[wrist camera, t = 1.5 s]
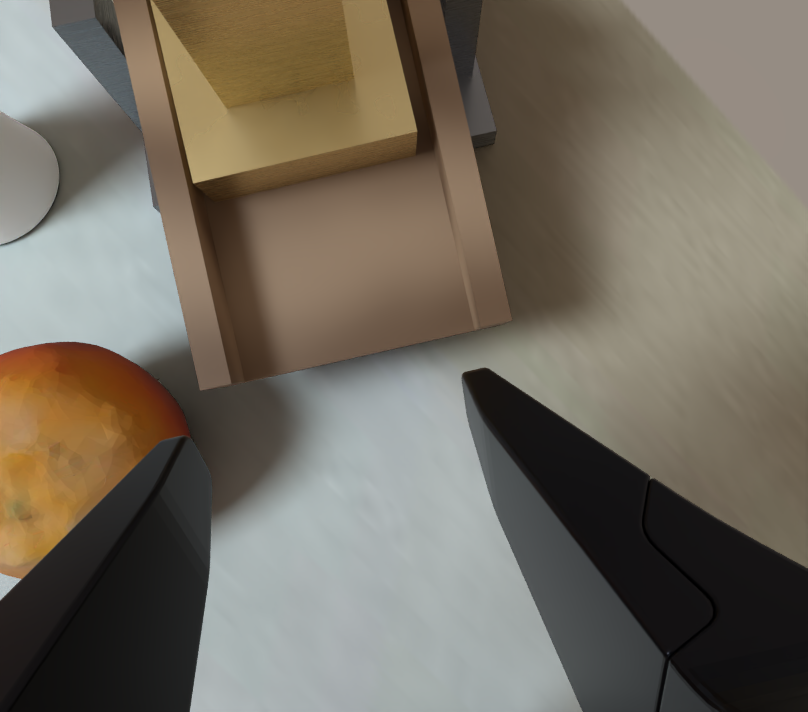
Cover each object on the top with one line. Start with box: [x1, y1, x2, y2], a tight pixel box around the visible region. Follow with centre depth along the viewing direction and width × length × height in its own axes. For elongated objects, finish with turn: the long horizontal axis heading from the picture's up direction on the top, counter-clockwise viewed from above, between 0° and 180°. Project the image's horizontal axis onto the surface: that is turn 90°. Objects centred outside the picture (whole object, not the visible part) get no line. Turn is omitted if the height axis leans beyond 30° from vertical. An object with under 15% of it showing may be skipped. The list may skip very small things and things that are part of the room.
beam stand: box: [49, 0, 497, 212], centre depth 21 cm, size 8×15×8 cm, turn 103°
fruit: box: [0, 342, 191, 579], centre depth 20 cm, size 8×8×8 cm
